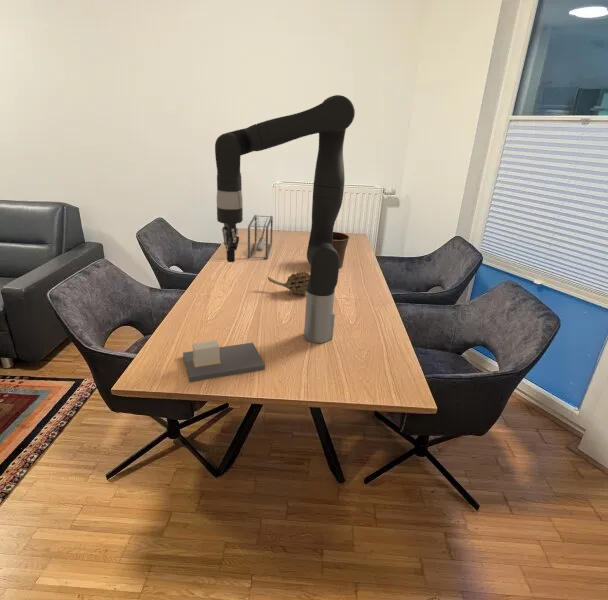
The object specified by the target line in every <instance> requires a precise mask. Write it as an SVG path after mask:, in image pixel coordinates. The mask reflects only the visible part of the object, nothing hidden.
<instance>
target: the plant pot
mask: <svg viewBox="0 0 608 600" xmlns="http://www.w3.org/2000/svg"><path fill="white" fill-rule="evenodd" d="M349 240H350V236H349V235H348V234H346V233H344V232H340V231H339V232H337V231H333V248H334V249H335V250H336V251H337V253H338V254H339V259H340V264H339V270H340V269H341V268H343V265H344V259H345V254H346V250H347V246H348V242H349Z"/></svg>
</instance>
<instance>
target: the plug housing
mask: <svg viewBox="0 0 608 600" xmlns="http://www.w3.org/2000/svg"><path fill="white" fill-rule="evenodd" d="M219 347H220V345H219V342H218V340H217V339H213V340H207V341H200V342H199V341H198V342H192V351H193V357H194V362H195V366H202V365H208V364H214V363H220V352H219Z"/></svg>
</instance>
